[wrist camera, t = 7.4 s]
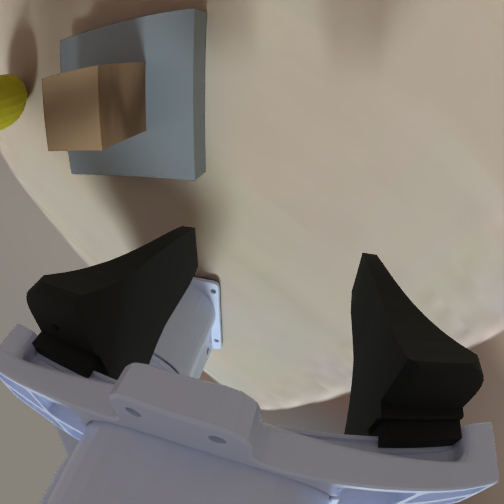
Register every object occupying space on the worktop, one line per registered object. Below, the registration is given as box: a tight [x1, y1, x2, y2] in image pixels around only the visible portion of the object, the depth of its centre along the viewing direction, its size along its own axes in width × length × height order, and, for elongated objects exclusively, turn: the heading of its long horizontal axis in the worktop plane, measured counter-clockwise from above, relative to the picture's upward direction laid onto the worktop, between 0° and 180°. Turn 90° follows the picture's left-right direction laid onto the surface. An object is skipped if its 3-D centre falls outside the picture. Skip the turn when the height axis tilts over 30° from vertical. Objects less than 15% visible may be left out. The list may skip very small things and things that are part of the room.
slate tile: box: [60, 8, 207, 181], centre depth 19 cm, size 12×12×2 cm
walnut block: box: [42, 62, 146, 151], centre depth 16 cm, size 5×5×5 cm
